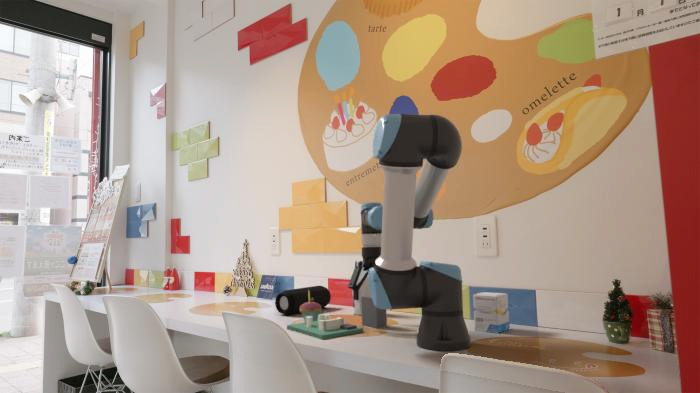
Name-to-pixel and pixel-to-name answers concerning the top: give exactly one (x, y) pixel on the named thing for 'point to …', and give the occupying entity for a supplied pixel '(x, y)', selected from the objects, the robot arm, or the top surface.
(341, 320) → the board
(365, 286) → the milk bottle
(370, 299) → the block
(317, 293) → the portable speaker
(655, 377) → the top surface
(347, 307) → the top surface
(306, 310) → the cupcake
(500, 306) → the ink box
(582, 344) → the top surface
